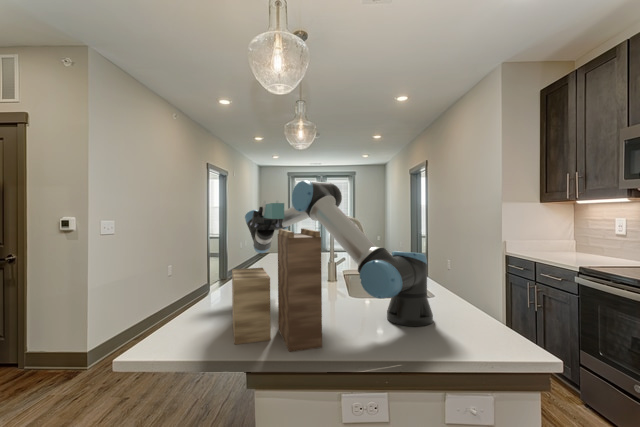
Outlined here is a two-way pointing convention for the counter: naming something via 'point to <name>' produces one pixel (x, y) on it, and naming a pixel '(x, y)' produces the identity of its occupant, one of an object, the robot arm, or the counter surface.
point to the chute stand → (300, 289)
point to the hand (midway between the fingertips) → (271, 203)
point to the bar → (274, 211)
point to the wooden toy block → (251, 305)
